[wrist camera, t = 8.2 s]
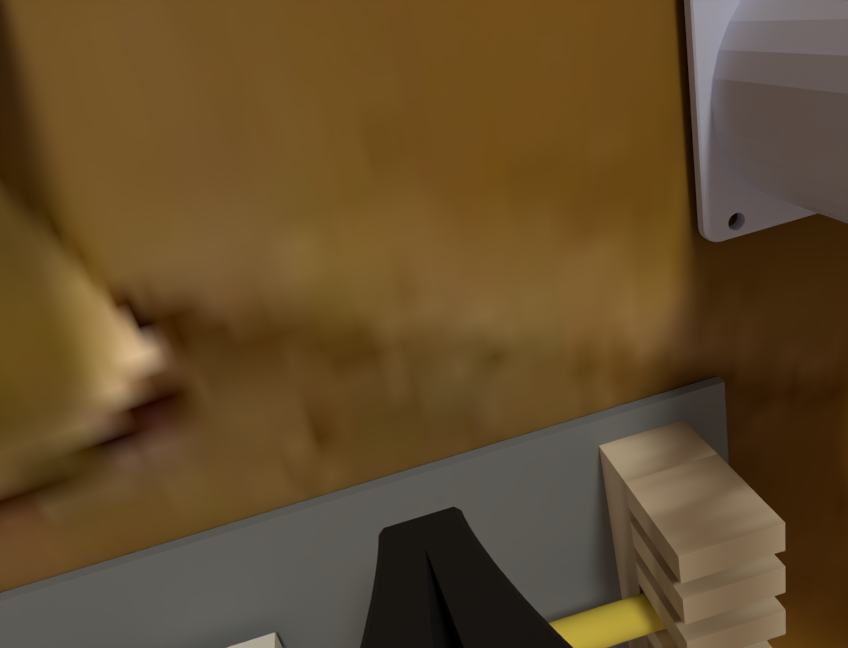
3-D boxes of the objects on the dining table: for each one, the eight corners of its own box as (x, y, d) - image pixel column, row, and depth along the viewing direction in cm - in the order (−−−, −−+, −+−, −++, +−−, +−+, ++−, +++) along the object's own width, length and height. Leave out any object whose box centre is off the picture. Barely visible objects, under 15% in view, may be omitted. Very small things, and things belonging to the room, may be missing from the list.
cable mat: (717, 376, 23) (724, 381, 22) (731, 624, 28) (737, 631, 27) (-93, 620, 21) (-100, 631, 21) (79, 835, 26) (76, 846, 26)
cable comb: (683, 419, 23) (785, 522, 18) (700, 625, 27) (786, 753, 22) (599, 445, 22) (678, 556, 18) (629, 649, 27) (700, 782, 22)
